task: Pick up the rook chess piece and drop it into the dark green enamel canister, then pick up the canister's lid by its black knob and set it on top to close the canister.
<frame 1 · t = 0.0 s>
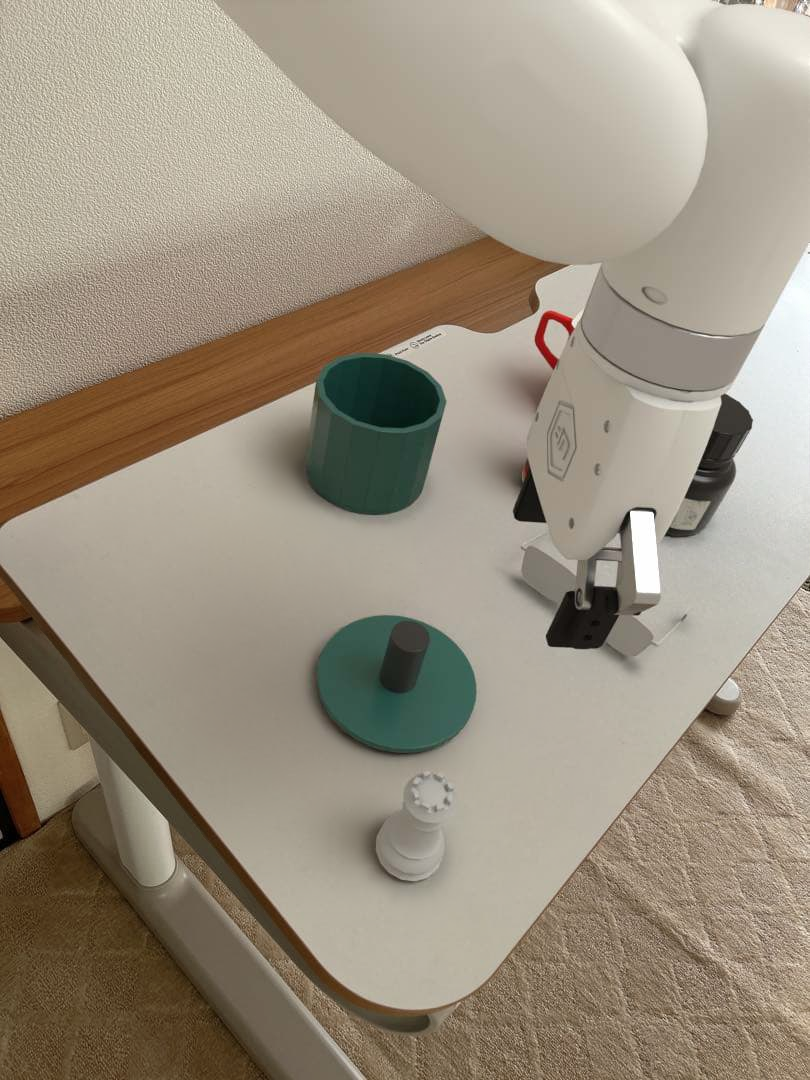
hand: (553, 577, 52), 18 cm above the table, tool pointing down, fingers open, 9 cm apart
lid: (396, 682, 66), point 1 cm above the table
eyeglasses: (597, 597, 77), on the table
canister: (365, 472, 83), on the table
pill bottle: (550, 487, 87), on the table
mug: (568, 405, 97), on the table
ink bottle: (663, 508, 88), on the table
rook chess piece: (407, 852, 58), on the table
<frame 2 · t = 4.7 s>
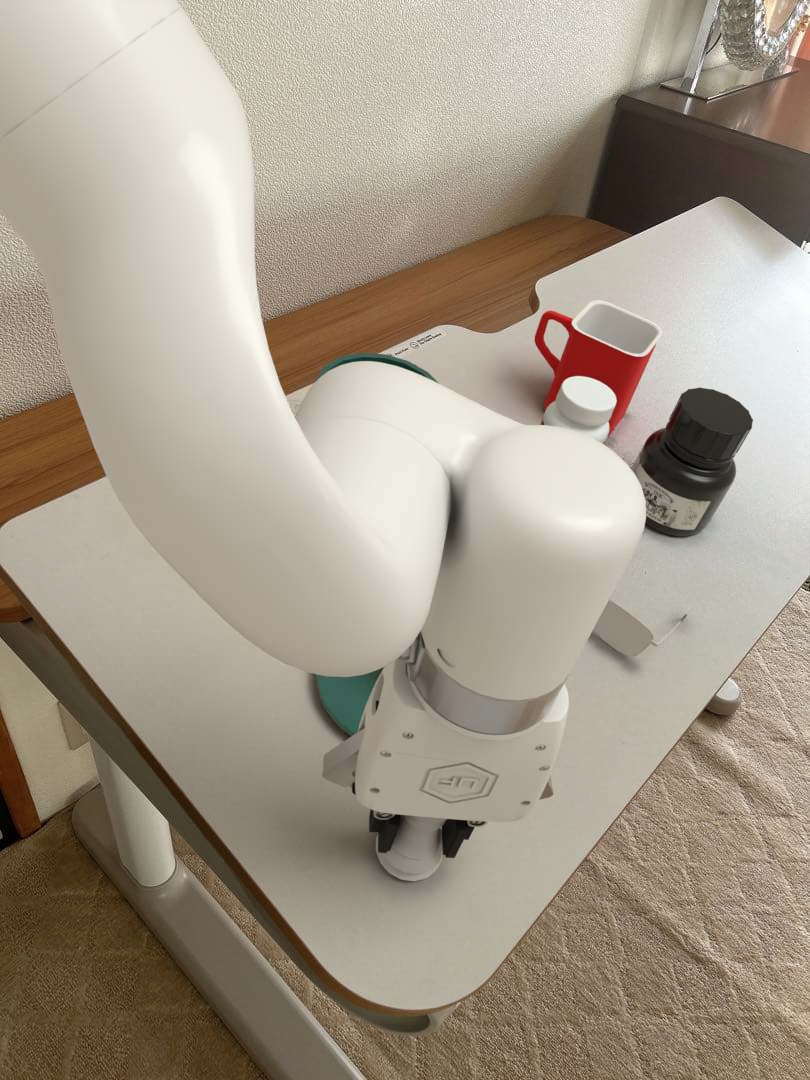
hand: (415, 831, 56), 3 cm above the table, tool pointing down, fingers closed on rook chess piece, 3 cm apart
rook chess piece: (407, 852, 58), on the table, touching gripper
everything else where it was.
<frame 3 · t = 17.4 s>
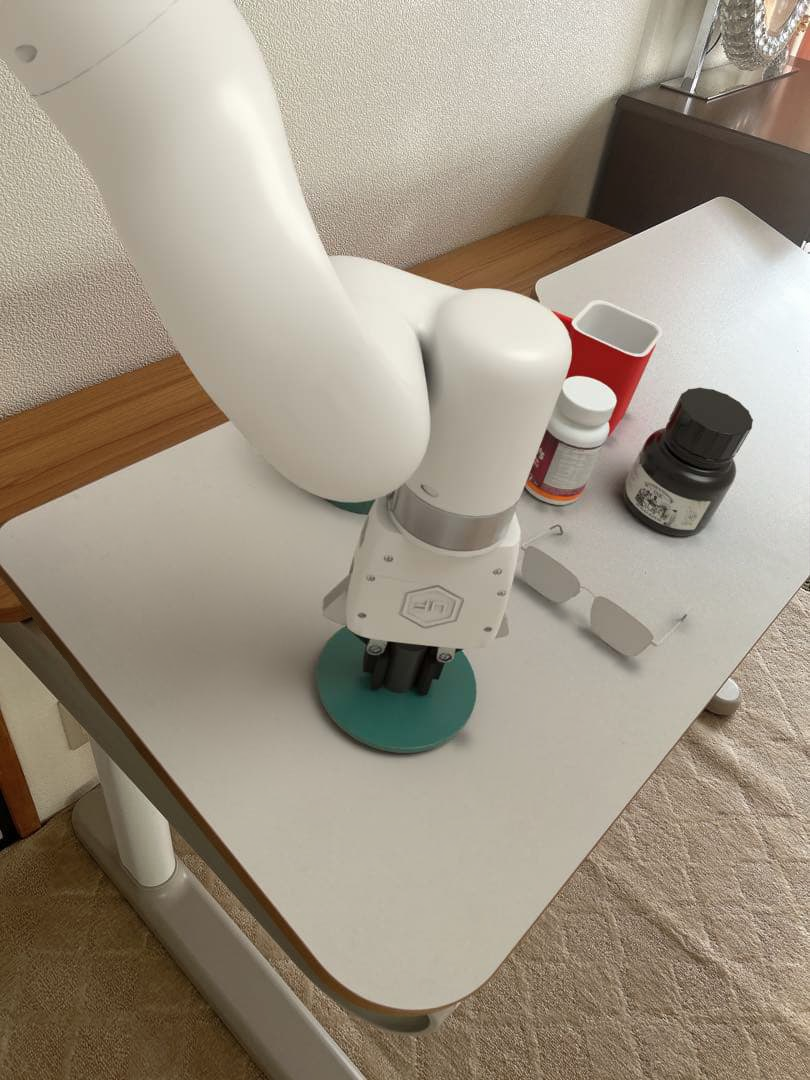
hand: (398, 675, 65), 2 cm above the table, tool pointing down, fingers closed on lid, 2 cm apart
lid: (396, 682, 66), point 1 cm above the table, touching gripper
rook chess piece: (363, 470, 83), resting on canister
everything else where it was.
when the fingers open (10 cm above the table, at t = 24.7 s): lid stays where it is, resting on canister.
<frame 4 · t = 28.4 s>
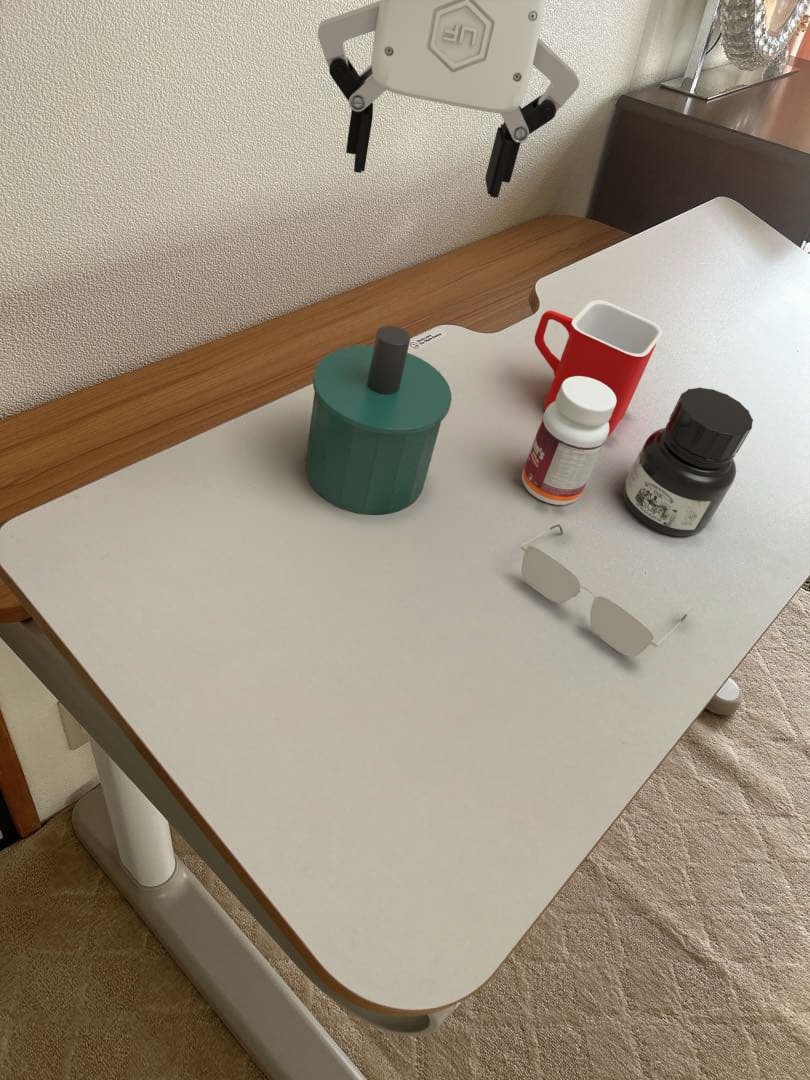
hand: (425, 177, 63), 28 cm above the table, tool pointing down, fingers open, 9 cm apart
lid: (382, 390, 76), point 9 cm above the table, touching canister
everything else where it was.
at the end: rook chess piece inside the target area in the canister (0.2 cm from its centre), point 0.3 cm above the canister's base; lid 0.0 cm off-centre on the canister, point 9.5 cm above the canister's base; lid tilted 0° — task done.
